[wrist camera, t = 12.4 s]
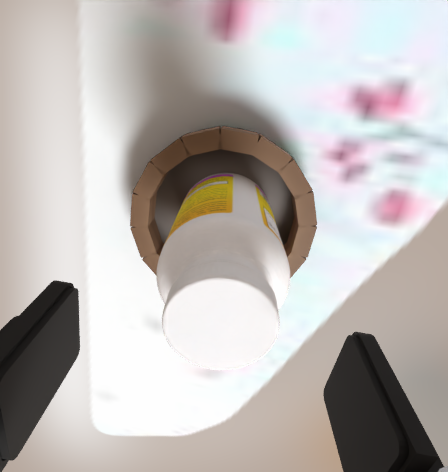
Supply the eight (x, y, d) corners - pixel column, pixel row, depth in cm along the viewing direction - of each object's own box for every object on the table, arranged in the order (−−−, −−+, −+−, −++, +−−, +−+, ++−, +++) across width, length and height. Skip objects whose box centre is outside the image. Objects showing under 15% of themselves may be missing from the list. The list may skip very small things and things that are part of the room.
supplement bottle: (169, 231, 25) (111, 353, 13) (205, 154, 22) (172, 220, 11) (245, 265, 26) (253, 407, 14) (287, 195, 23) (340, 297, 12)
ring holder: (148, 111, 22) (137, 112, 20) (330, 145, 23) (341, 151, 20) (136, 271, 27) (126, 287, 25) (284, 297, 28) (288, 315, 25)
